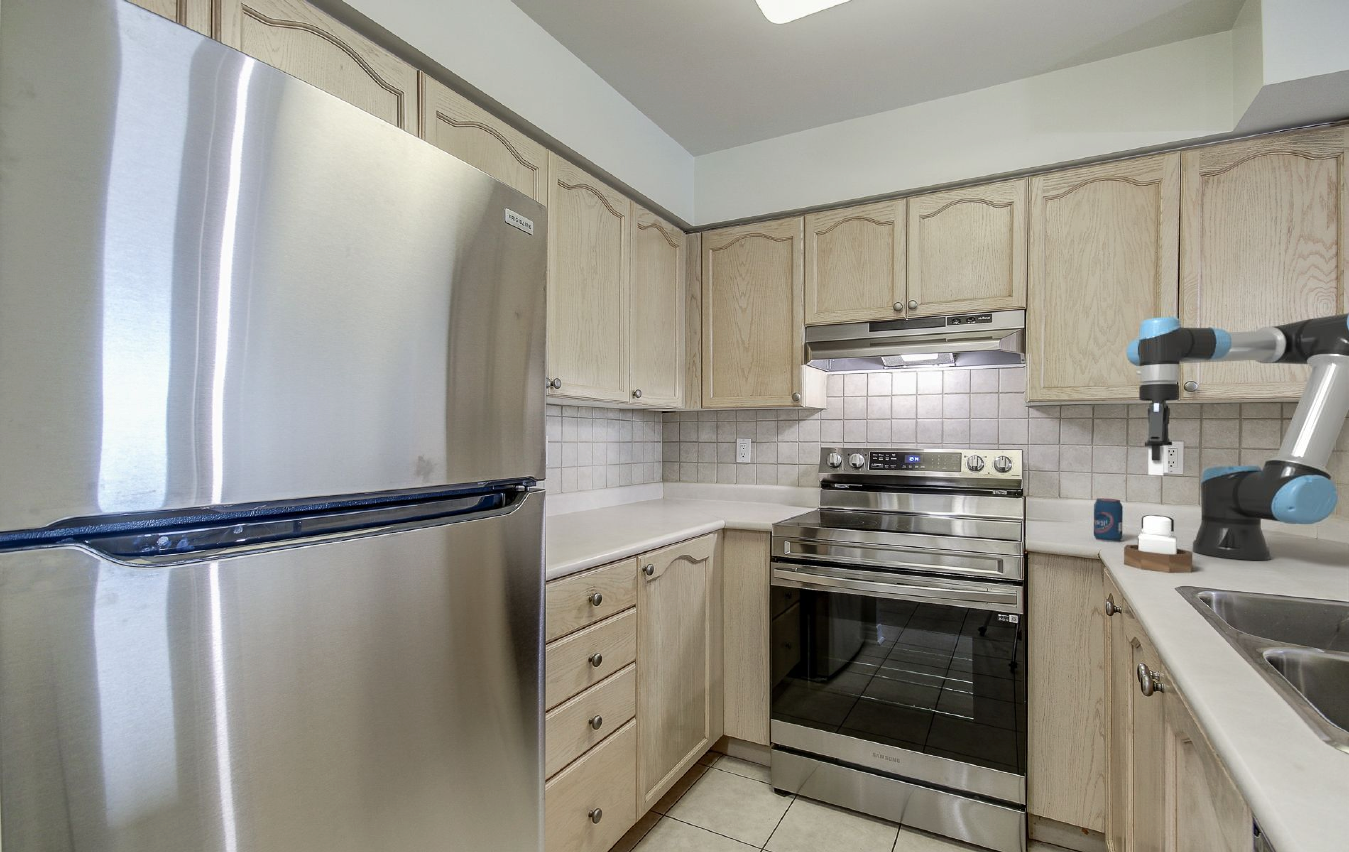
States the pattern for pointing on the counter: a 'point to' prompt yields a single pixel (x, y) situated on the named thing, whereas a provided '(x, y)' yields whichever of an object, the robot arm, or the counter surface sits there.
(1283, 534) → the counter surface
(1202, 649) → the counter surface
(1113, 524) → the soda can
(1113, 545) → the counter surface
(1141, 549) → the medicine bottle
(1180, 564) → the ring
